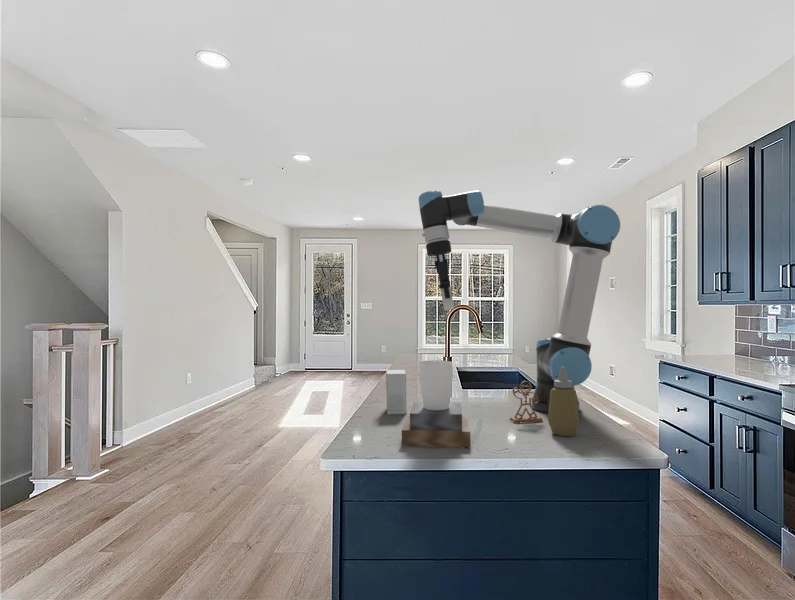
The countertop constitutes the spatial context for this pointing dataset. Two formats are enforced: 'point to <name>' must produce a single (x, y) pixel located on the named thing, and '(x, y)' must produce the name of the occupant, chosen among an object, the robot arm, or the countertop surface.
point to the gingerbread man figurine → (524, 419)
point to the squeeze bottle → (563, 406)
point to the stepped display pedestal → (436, 427)
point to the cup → (436, 384)
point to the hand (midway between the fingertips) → (449, 310)
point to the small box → (396, 391)
